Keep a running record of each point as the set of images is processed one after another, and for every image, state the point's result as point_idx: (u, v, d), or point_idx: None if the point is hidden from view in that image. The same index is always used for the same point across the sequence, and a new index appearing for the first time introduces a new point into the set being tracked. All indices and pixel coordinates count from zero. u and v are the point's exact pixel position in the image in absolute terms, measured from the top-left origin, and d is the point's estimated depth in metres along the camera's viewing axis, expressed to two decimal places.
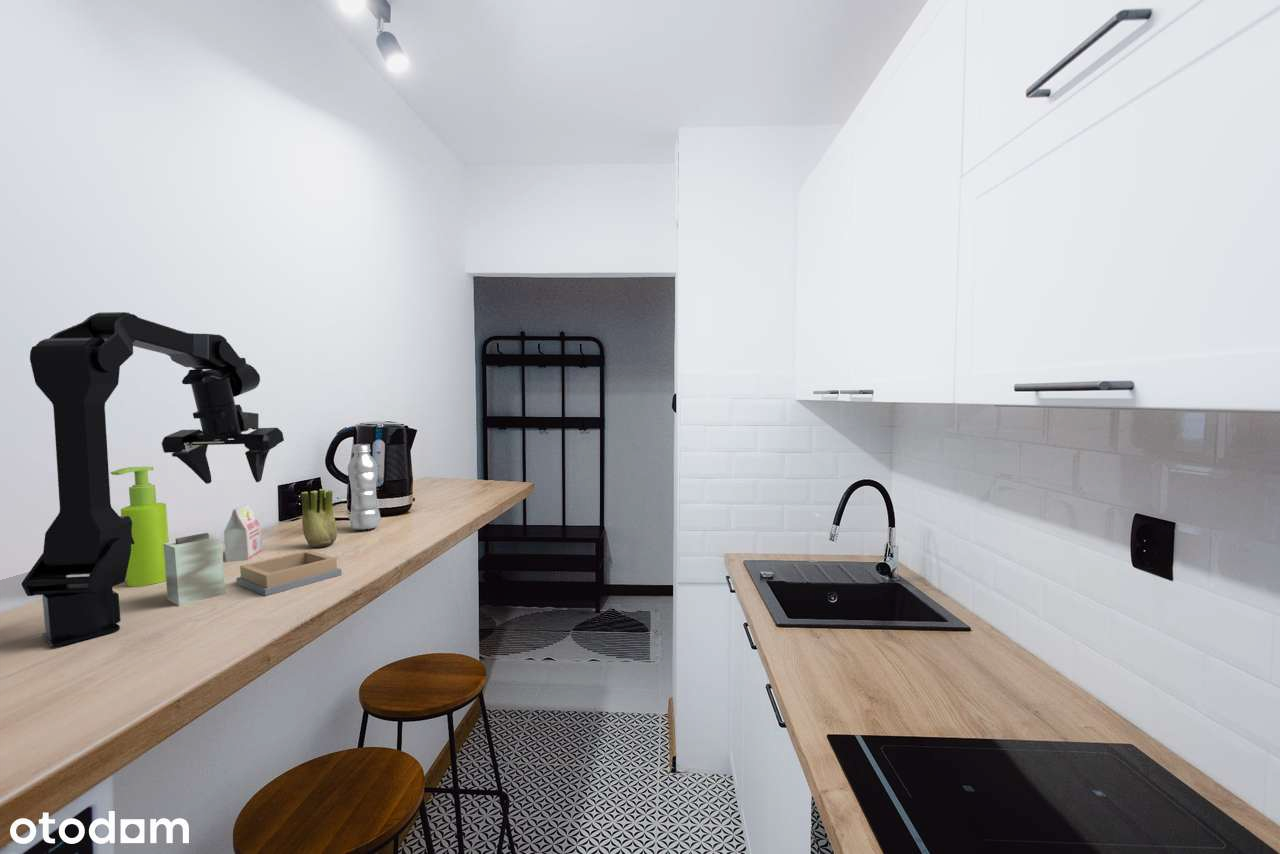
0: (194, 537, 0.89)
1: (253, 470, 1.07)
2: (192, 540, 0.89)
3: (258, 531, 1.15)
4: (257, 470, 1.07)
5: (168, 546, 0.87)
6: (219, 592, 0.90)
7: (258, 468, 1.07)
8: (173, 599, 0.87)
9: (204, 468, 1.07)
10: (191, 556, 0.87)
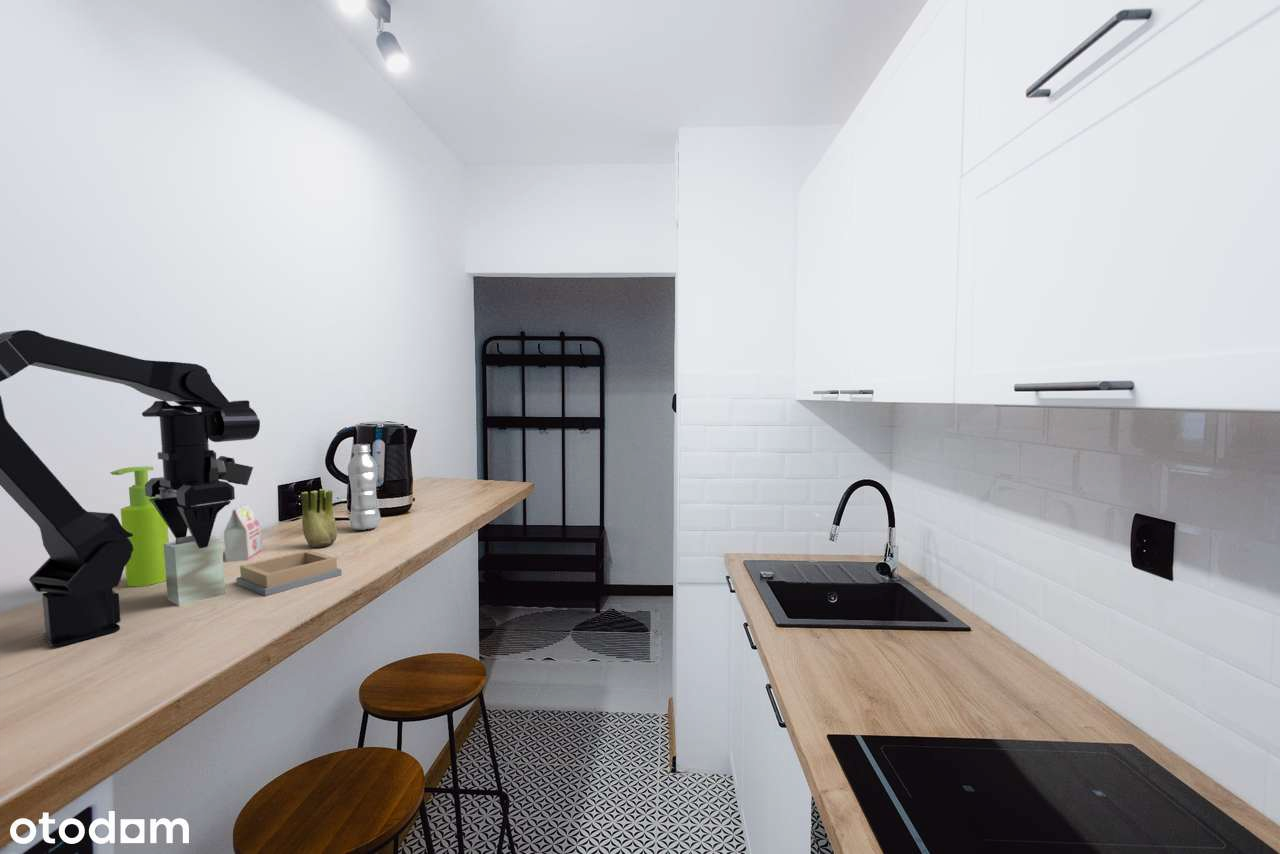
0: None
1: (191, 531, 0.85)
2: (192, 540, 0.89)
3: (258, 531, 1.15)
4: (194, 532, 0.85)
5: (168, 546, 0.87)
6: (219, 592, 0.90)
7: (196, 529, 0.85)
8: (173, 599, 0.87)
9: (179, 521, 0.92)
10: (191, 556, 0.87)
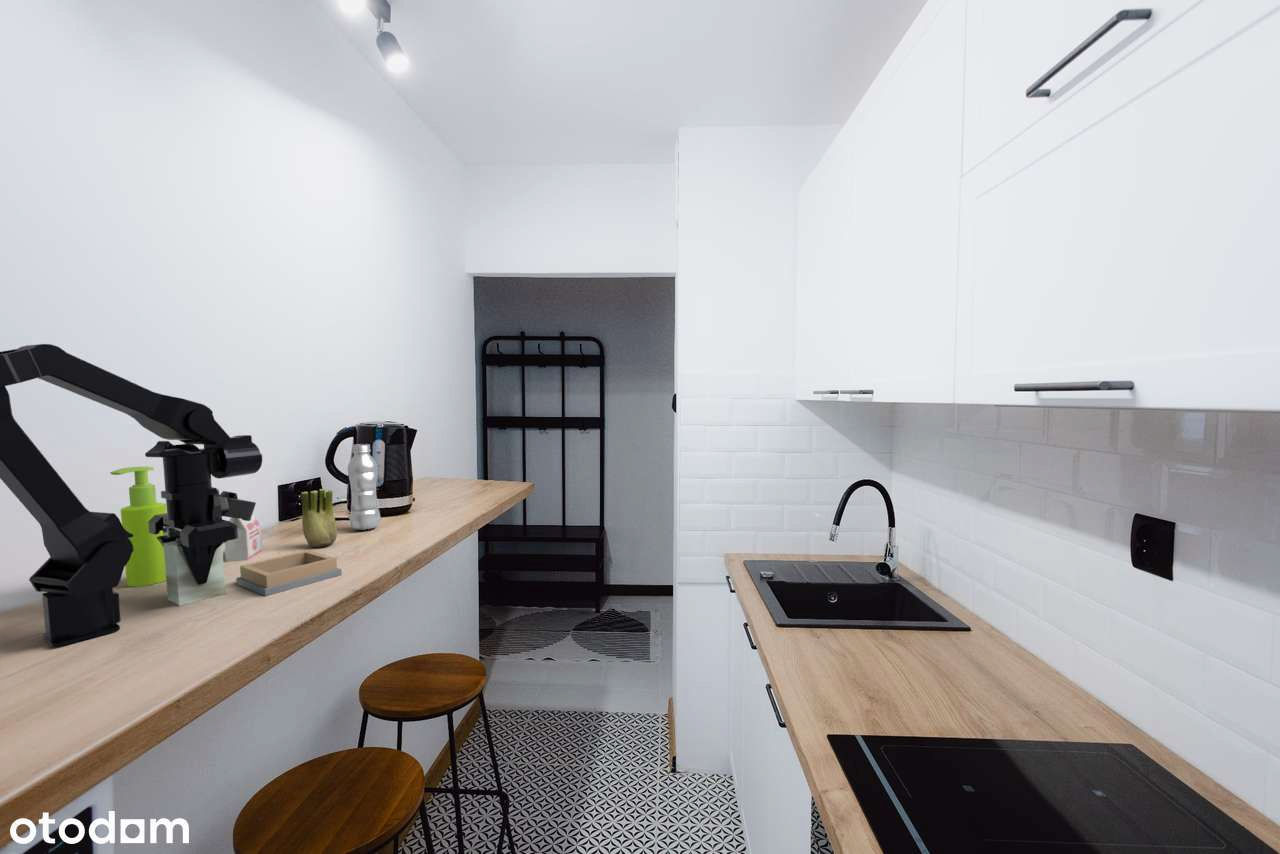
0: None
1: (191, 568, 0.87)
2: None
3: (258, 531, 1.15)
4: (193, 569, 0.86)
5: (168, 546, 0.87)
6: (219, 592, 0.90)
7: (195, 567, 0.87)
8: (173, 599, 0.87)
9: None
10: None
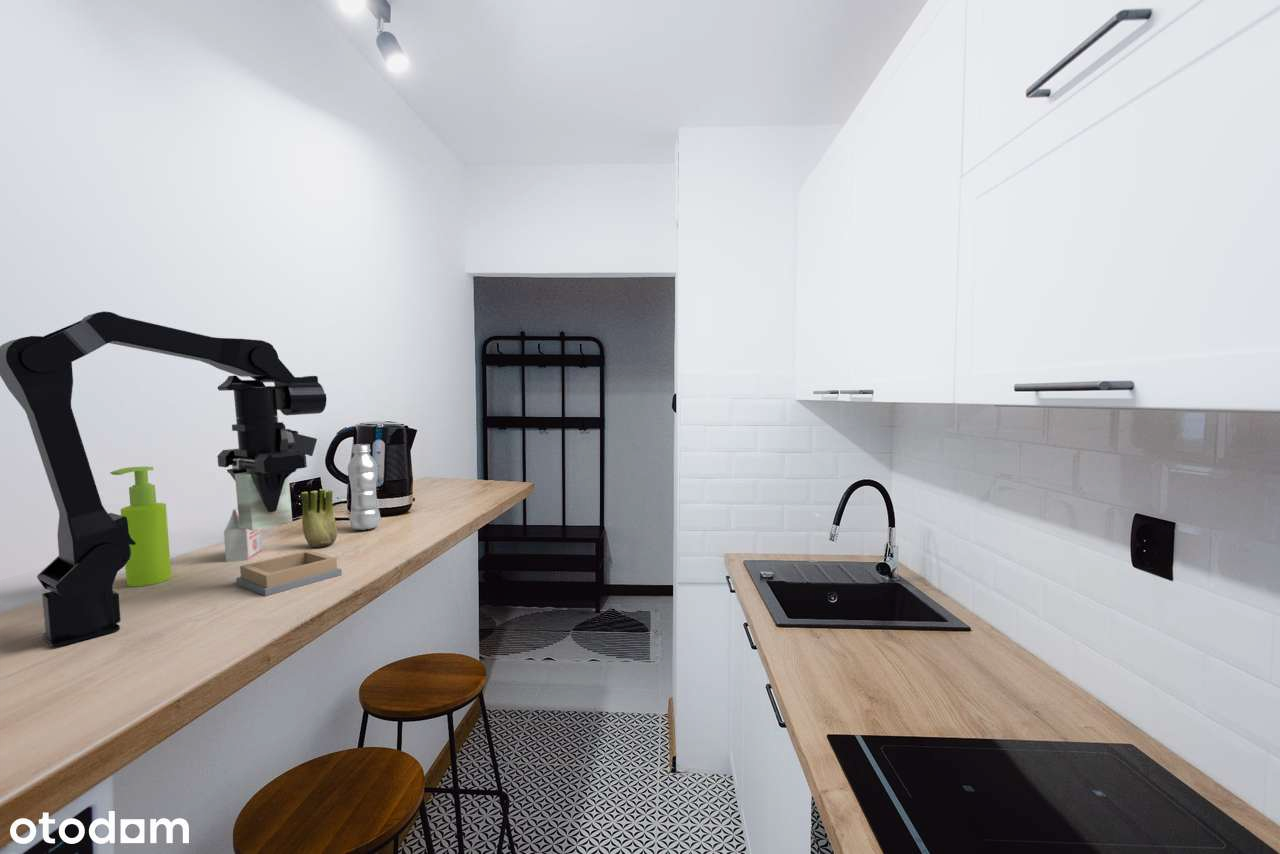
0: None
1: (262, 496, 0.92)
2: None
3: (258, 531, 1.15)
4: (265, 497, 0.92)
5: (240, 475, 0.92)
6: (287, 521, 0.96)
7: (267, 494, 0.92)
8: (246, 525, 0.93)
9: None
10: None
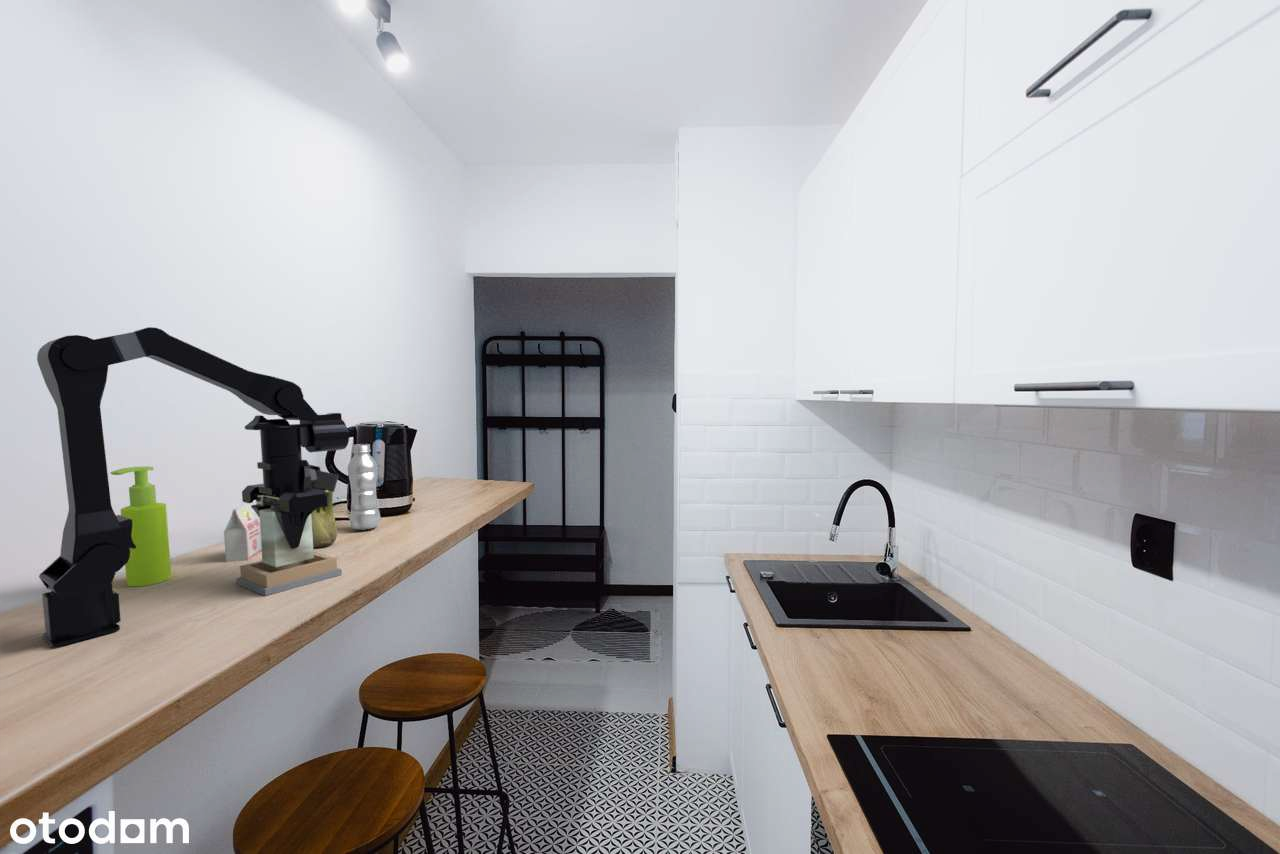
0: None
1: (286, 533, 0.94)
2: None
3: (258, 531, 1.15)
4: (288, 534, 0.94)
5: (265, 512, 0.94)
6: (309, 556, 0.97)
7: (290, 532, 0.94)
8: (269, 561, 0.95)
9: None
10: None
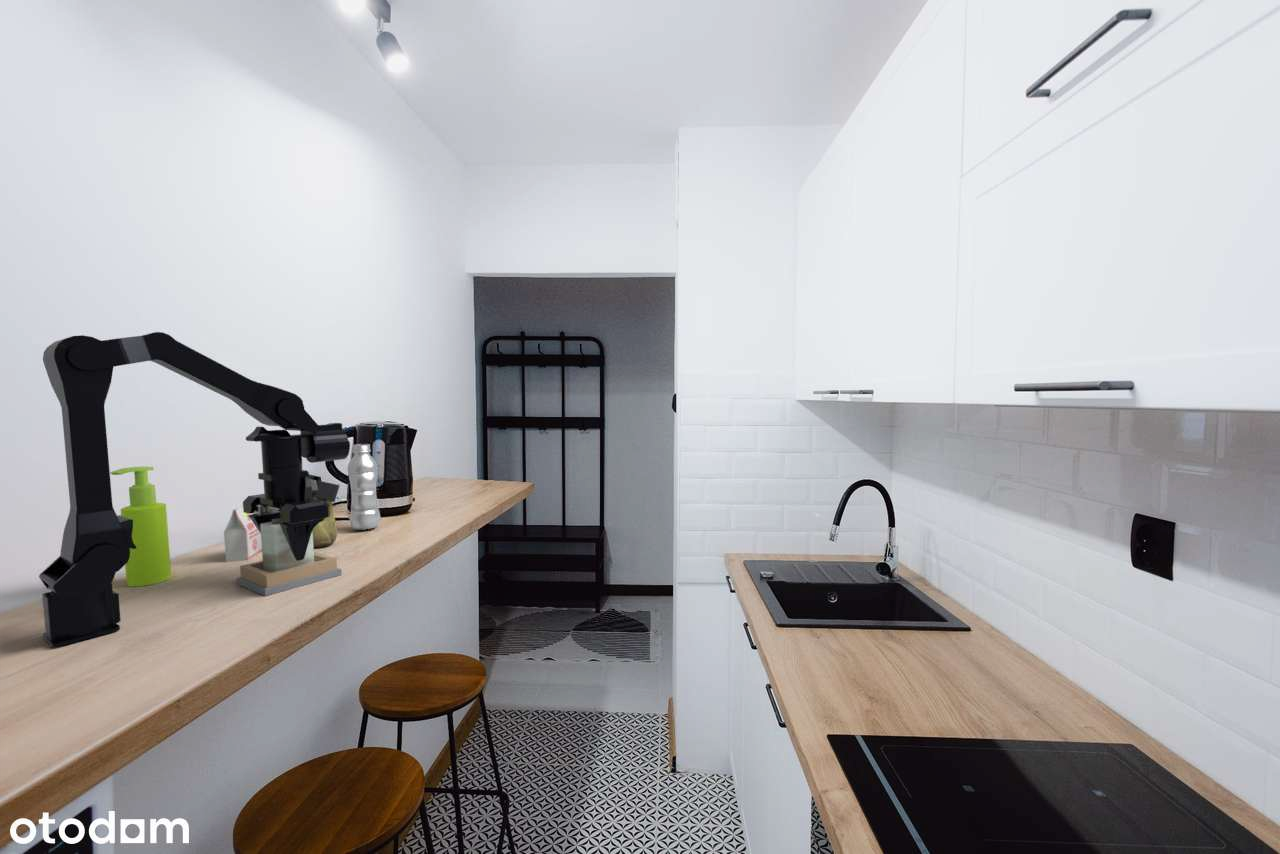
0: None
1: (291, 545, 0.93)
2: None
3: (258, 531, 1.15)
4: (293, 546, 0.93)
5: (266, 526, 0.94)
6: None
7: (295, 544, 0.93)
8: None
9: None
10: None
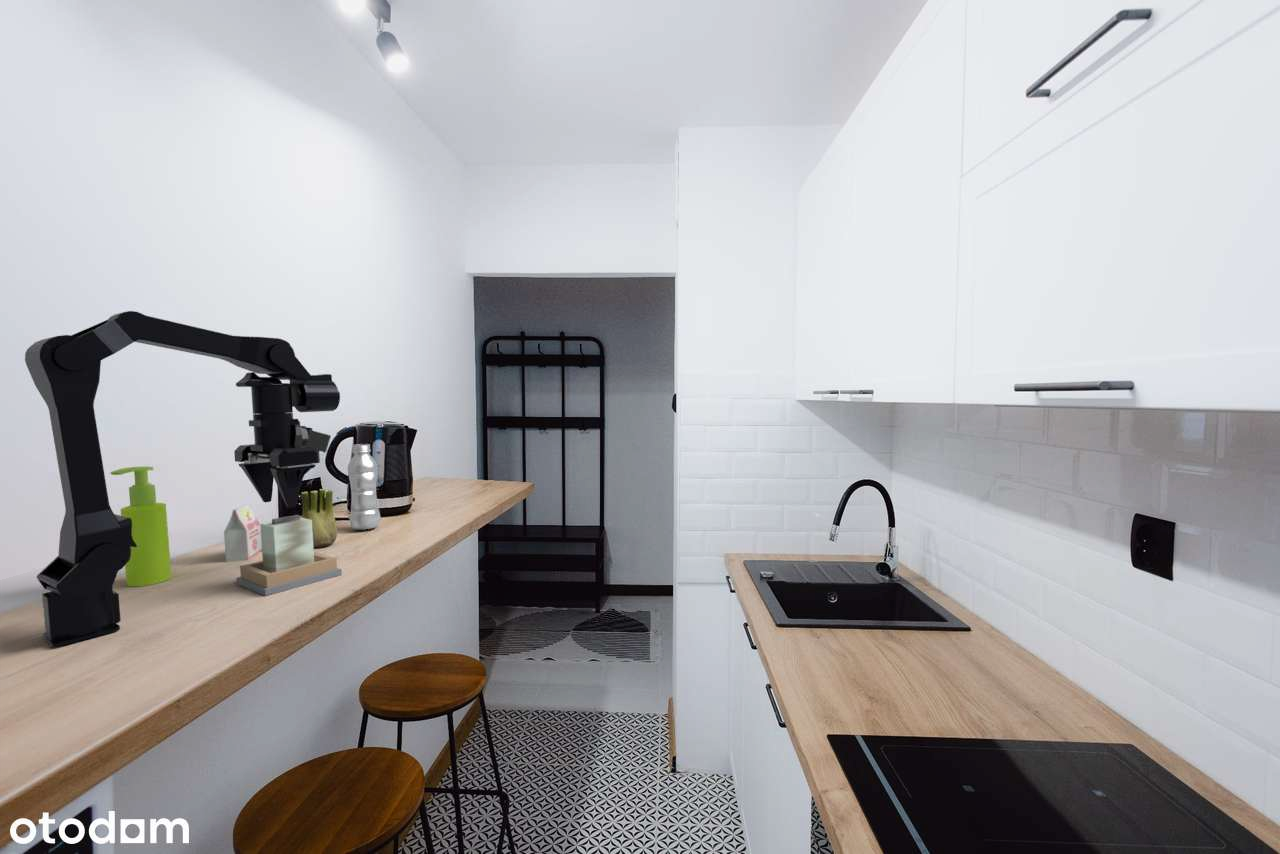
0: (288, 518, 0.96)
1: (282, 491, 0.93)
2: (286, 521, 0.96)
3: (258, 531, 1.15)
4: (284, 492, 0.93)
5: (266, 526, 0.94)
6: None
7: (286, 490, 0.93)
8: None
9: (265, 484, 1.00)
10: (287, 535, 0.95)
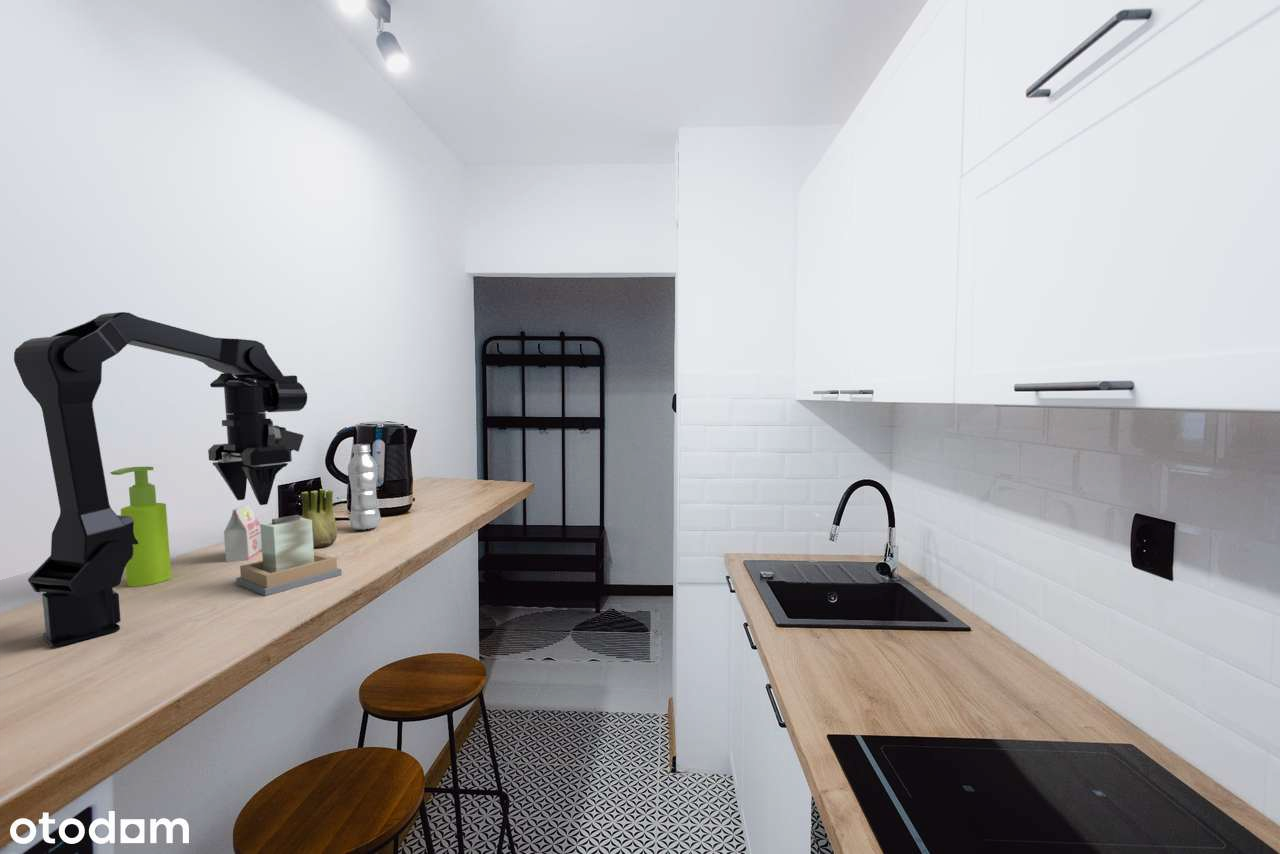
0: (288, 518, 0.96)
1: (254, 489, 0.95)
2: (286, 521, 0.96)
3: (258, 531, 1.15)
4: (256, 490, 0.95)
5: (266, 526, 0.94)
6: None
7: (258, 488, 0.95)
8: None
9: (239, 483, 1.02)
10: (287, 535, 0.95)
